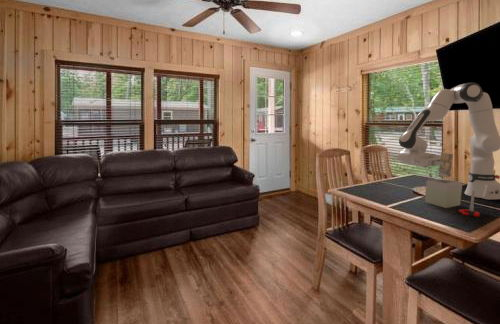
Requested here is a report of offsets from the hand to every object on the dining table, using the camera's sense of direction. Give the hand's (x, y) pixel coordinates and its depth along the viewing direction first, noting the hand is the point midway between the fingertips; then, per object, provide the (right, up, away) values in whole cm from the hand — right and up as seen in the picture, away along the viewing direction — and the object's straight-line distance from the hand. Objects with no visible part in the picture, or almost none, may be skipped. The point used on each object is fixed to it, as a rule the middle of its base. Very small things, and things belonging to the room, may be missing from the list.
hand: (447, 163), depth 154 cm
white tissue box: (0, -23, +5) cm, 24 cm away
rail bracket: (0, -7, +2) cm, 8 cm away
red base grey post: (+3, -26, -12) cm, 29 cm away
